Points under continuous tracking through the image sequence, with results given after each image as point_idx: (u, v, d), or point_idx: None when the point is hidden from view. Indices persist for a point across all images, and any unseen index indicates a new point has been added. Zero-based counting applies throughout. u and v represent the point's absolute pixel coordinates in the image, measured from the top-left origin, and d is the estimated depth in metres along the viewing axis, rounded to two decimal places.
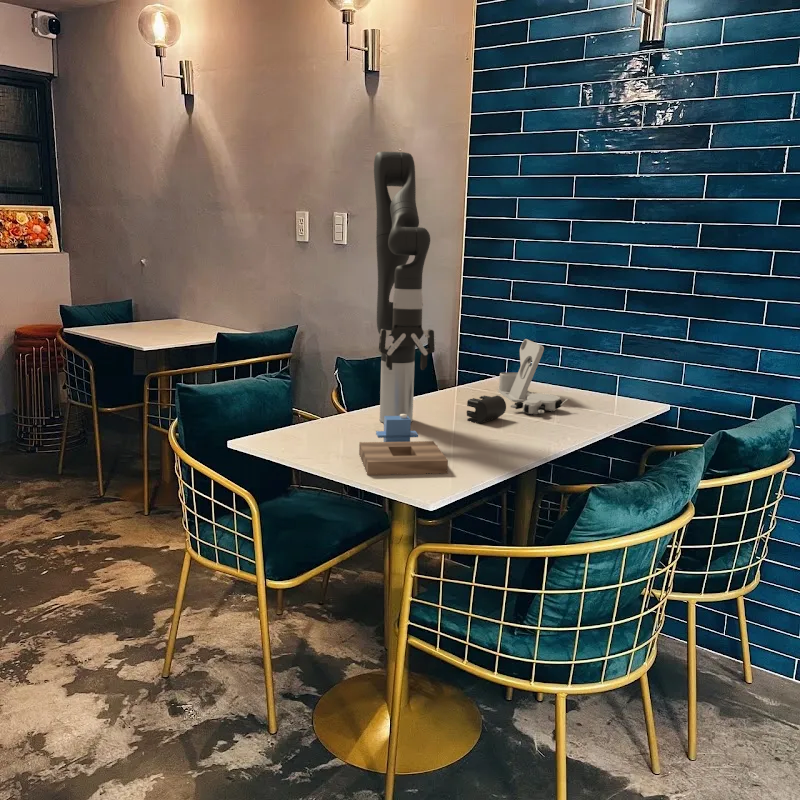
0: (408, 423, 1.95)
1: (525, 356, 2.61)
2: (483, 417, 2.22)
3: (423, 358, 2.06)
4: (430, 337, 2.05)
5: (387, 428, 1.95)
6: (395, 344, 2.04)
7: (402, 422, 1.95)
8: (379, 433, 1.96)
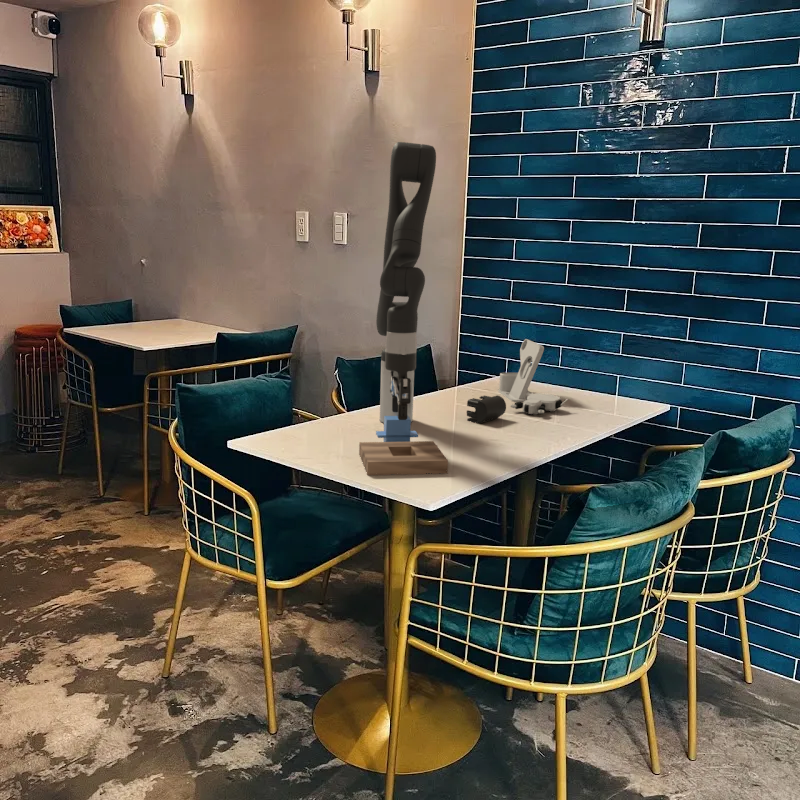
0: (408, 423, 1.95)
1: (525, 356, 2.61)
2: (483, 417, 2.22)
3: None
4: None
5: (387, 428, 1.95)
6: None
7: (402, 422, 1.95)
8: (379, 433, 1.96)
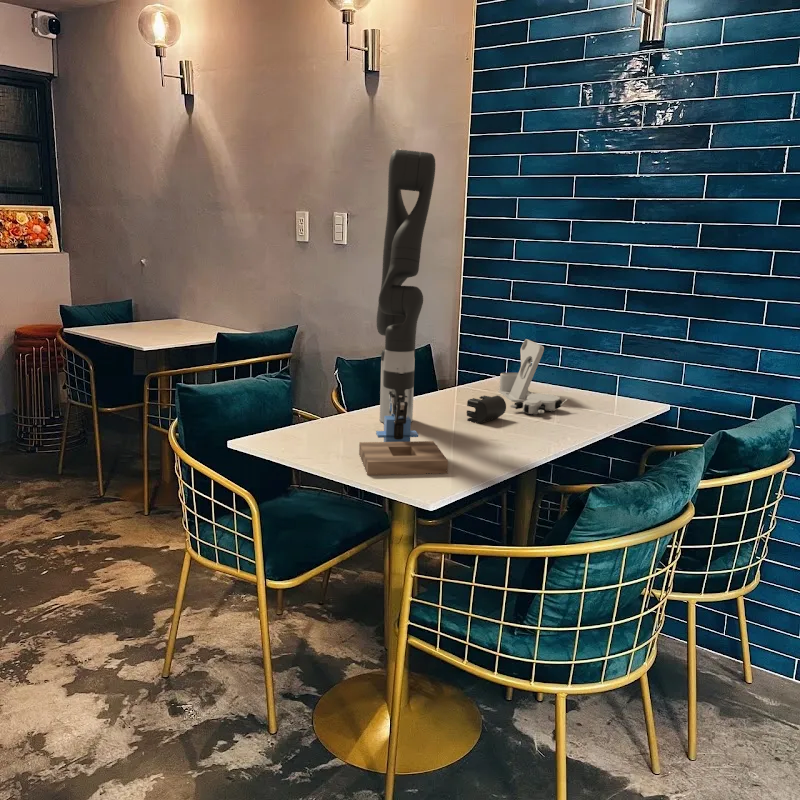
0: (408, 423, 1.95)
1: (525, 356, 2.60)
2: (483, 417, 2.22)
3: None
4: None
5: (387, 428, 1.95)
6: None
7: None
8: (379, 433, 1.97)
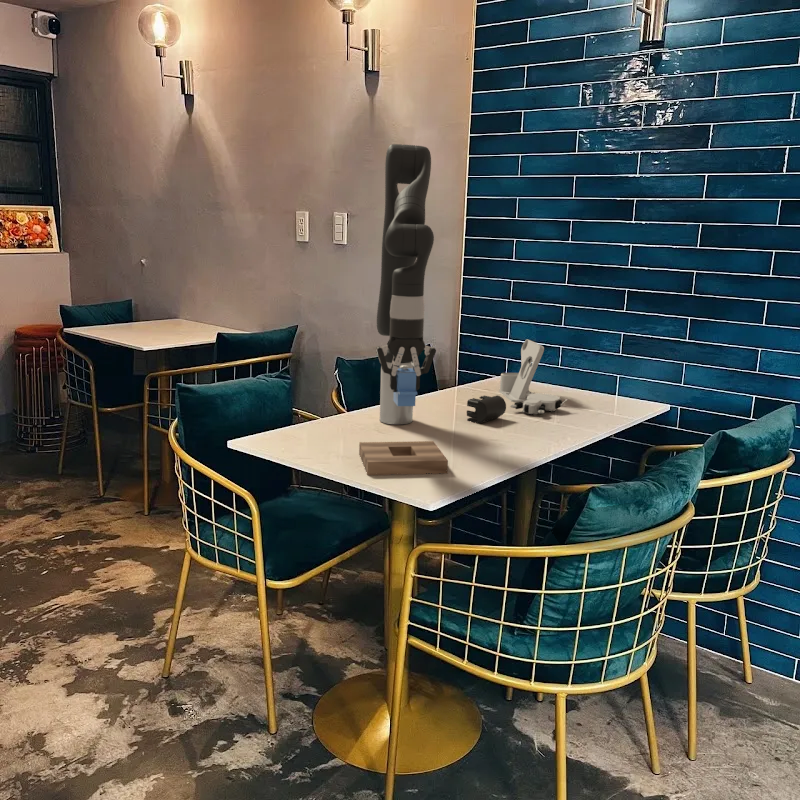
0: None
1: (526, 356, 2.60)
2: (483, 417, 2.22)
3: None
4: None
5: (415, 382, 1.78)
6: None
7: None
8: (408, 391, 1.76)
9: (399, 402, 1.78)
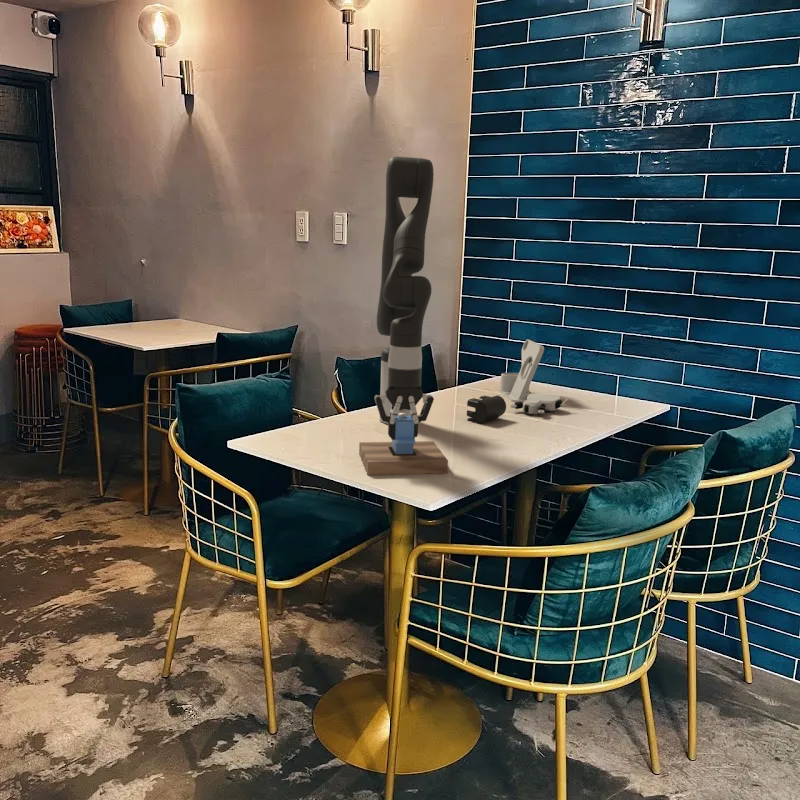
0: None
1: (526, 356, 2.60)
2: (483, 417, 2.22)
3: None
4: None
5: (413, 430, 1.80)
6: None
7: None
8: (406, 440, 1.79)
9: (397, 450, 1.80)
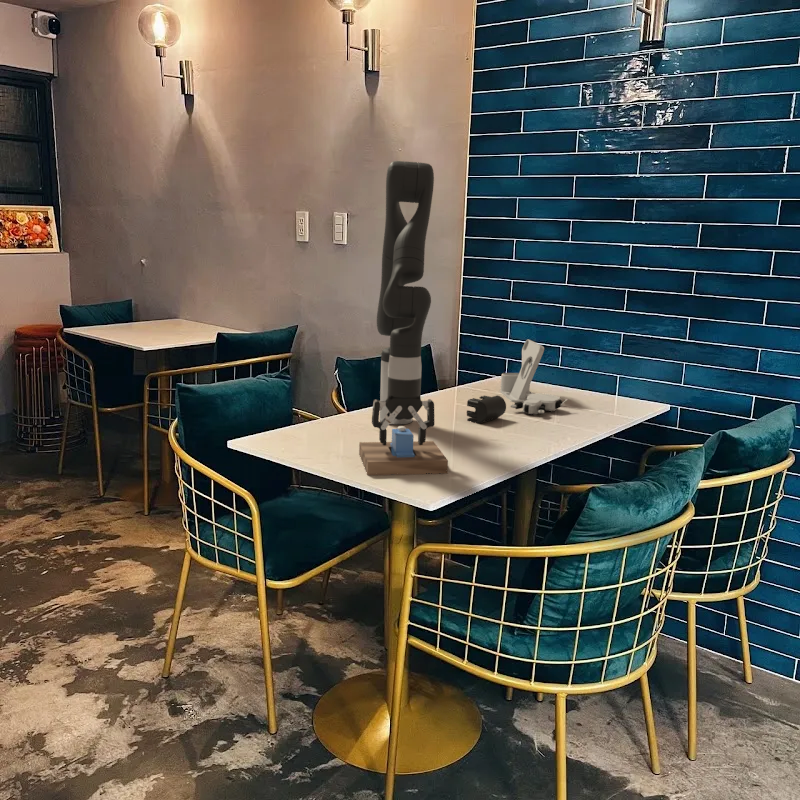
0: None
1: (526, 356, 2.60)
2: (483, 417, 2.22)
3: None
4: None
5: None
6: None
7: None
8: (405, 453, 1.80)
9: None
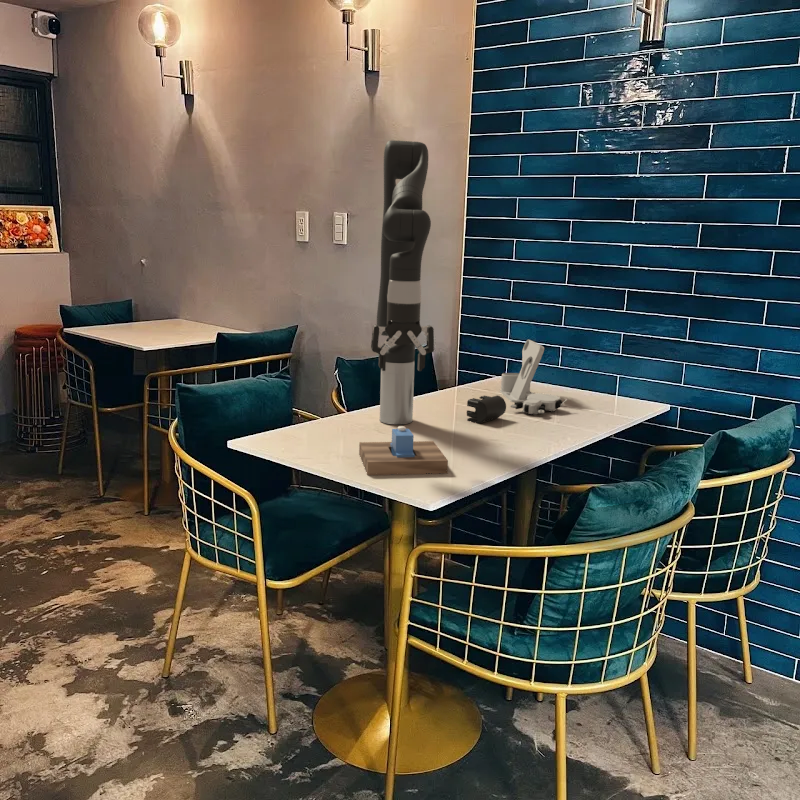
0: None
1: (527, 357, 2.60)
2: (483, 417, 2.22)
3: None
4: None
5: None
6: None
7: None
8: (405, 453, 1.80)
9: None
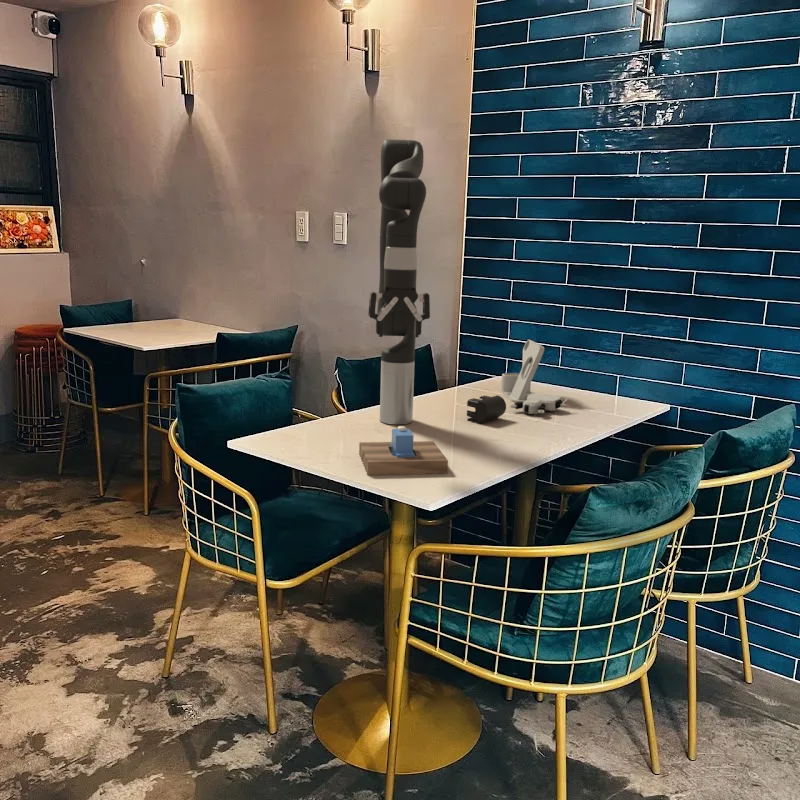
0: None
1: (527, 357, 2.60)
2: (483, 417, 2.22)
3: None
4: None
5: None
6: None
7: None
8: (405, 453, 1.80)
9: None
